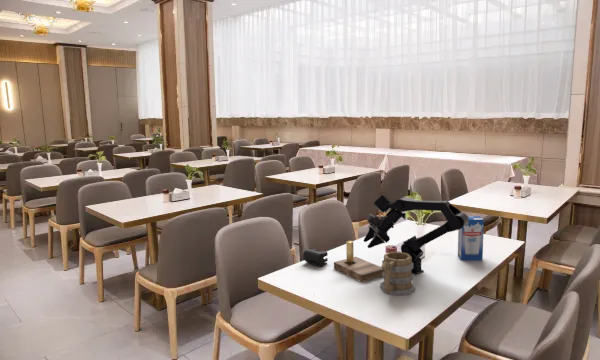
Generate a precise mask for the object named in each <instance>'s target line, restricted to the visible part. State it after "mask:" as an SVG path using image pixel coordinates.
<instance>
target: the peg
mask: <svg viewBox="0 0 600 360" xmlns="http://www.w3.org/2000/svg"><path fill="white" fill-rule="evenodd" d="M345 245H346V247H345V248H346V259H347V264H348V265H352V264H354V257H355V256H354V241H353V240H347V241H346V244H345Z"/></svg>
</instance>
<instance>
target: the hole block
mask: <svg viewBox="0 0 600 360" xmlns="http://www.w3.org/2000/svg"><path fill="white" fill-rule="evenodd" d="M334 268H335V270H336V269H337V271H338V270H339V272H340V271H341V273H342V274H345V275H347V274H348V275H347V276H348V277H350V278H353V279H355V280H358V281H359V282H362V283H364V282H366V280H367V281H370V280H373V278H374V279H377V278H381V277H382V272H384V269H382V267H381V266H380V265H377V264H374V263H372V262H370V261H367V260H365V259H362V258H361V257H357V256H354V264H352V265H348V264H347V258H344V259H342V260H337V261H334V262H333V269H334ZM363 281H364V282H363Z"/></svg>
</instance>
